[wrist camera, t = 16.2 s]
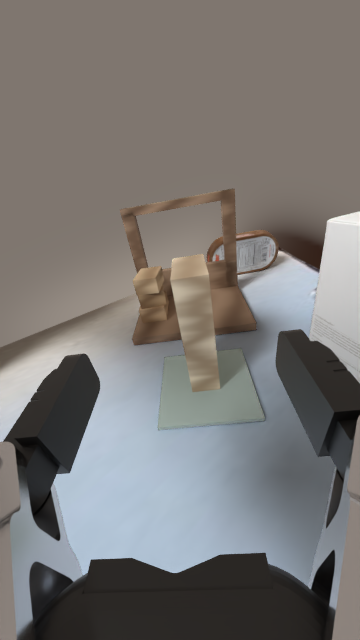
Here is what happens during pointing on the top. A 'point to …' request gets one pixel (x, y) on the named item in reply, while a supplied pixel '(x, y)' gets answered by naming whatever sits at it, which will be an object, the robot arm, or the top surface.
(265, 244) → the tin
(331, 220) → the supplement box
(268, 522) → the top surface
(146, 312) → the offcut low
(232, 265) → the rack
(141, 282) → the offcut top
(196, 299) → the pale wooden block
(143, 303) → the offcut mid
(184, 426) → the mat
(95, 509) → the top surface
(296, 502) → the top surface
